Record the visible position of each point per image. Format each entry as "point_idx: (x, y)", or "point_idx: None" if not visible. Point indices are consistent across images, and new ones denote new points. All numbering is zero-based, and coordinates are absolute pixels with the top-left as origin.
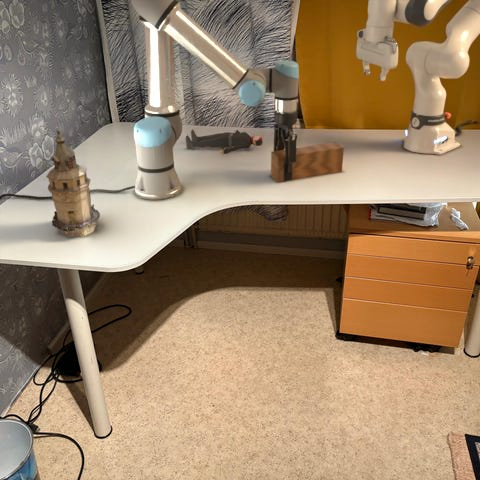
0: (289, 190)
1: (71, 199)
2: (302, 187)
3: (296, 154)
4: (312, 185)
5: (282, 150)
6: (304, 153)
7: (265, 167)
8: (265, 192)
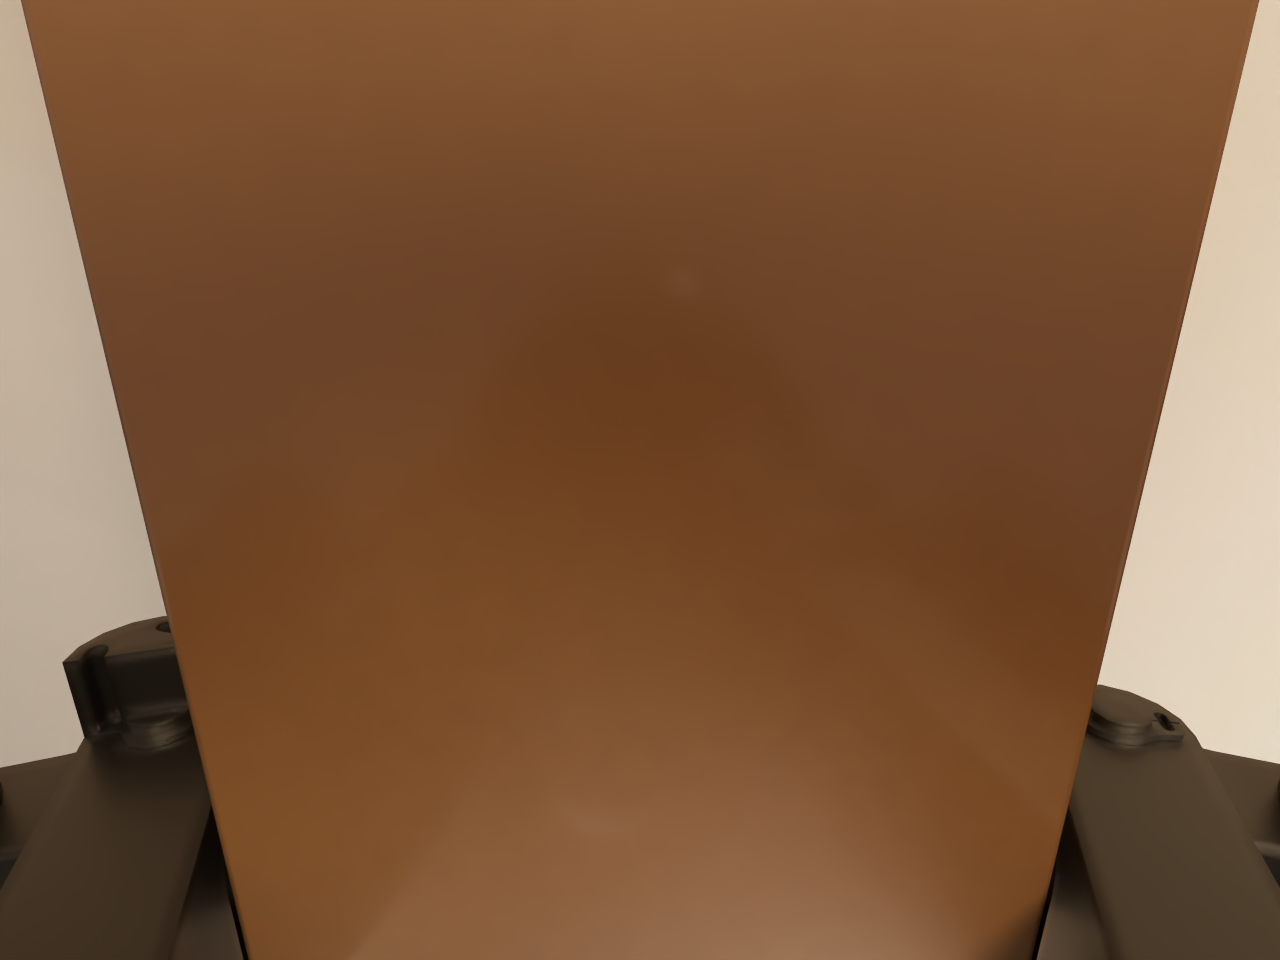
0: (1170, 640)
1: None
2: (1204, 389)
3: (1109, 624)
4: (1249, 151)
5: (315, 957)
6: (1230, 87)
7: (58, 619)
8: None
